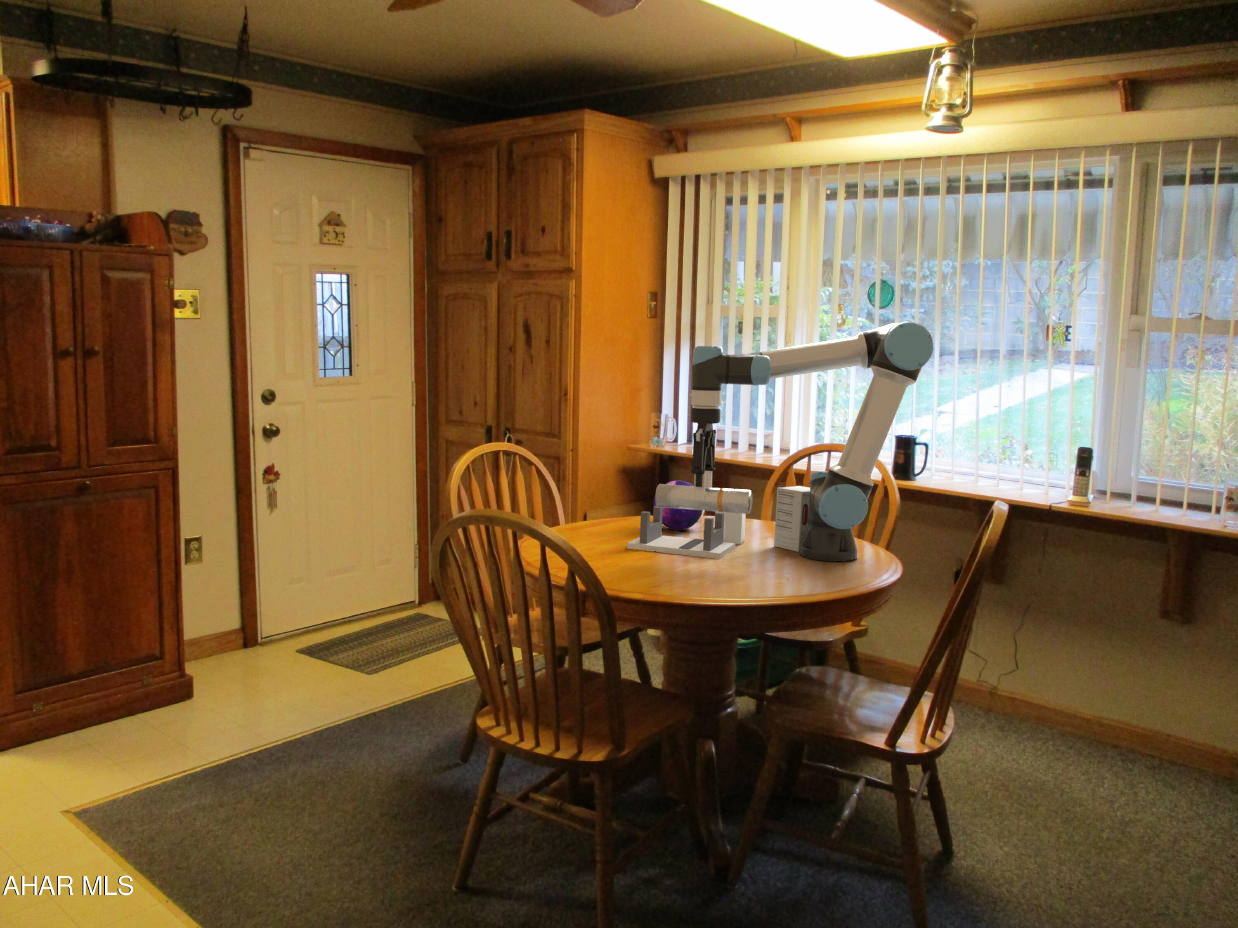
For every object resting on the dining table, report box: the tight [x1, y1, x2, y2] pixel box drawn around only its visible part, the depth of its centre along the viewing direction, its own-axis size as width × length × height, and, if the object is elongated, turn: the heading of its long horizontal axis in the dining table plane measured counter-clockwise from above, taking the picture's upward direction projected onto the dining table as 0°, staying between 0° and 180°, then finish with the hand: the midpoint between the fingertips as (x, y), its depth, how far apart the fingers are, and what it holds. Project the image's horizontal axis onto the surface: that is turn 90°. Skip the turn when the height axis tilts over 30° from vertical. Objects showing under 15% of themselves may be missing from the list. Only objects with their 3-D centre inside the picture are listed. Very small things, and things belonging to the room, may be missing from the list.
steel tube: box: [654, 483, 753, 515], centre depth 246 cm, size 24×6×6 cm, turn 70°
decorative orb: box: [653, 479, 703, 531], centre depth 290 cm, size 15×15×15 cm
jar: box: [714, 511, 747, 545], centre depth 274 cm, size 9×8×12 cm
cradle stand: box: [626, 506, 736, 560], centre depth 262 cm, size 26×15×10 cm, turn 68°
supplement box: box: [773, 485, 810, 553], centre depth 268 cm, size 10×9×17 cm
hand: (702, 497), depth 246 cm, fingers closed on steel tube, 6 cm apart
